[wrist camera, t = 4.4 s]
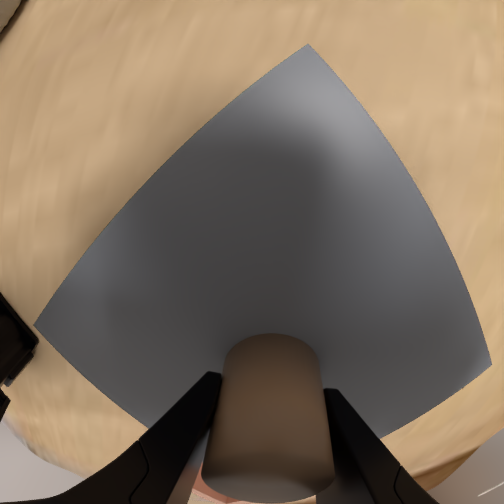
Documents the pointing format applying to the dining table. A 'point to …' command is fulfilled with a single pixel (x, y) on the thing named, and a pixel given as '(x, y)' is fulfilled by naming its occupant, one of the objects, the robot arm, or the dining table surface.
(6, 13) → the canister
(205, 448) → the robot arm
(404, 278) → the lid
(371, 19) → the dining table surface
